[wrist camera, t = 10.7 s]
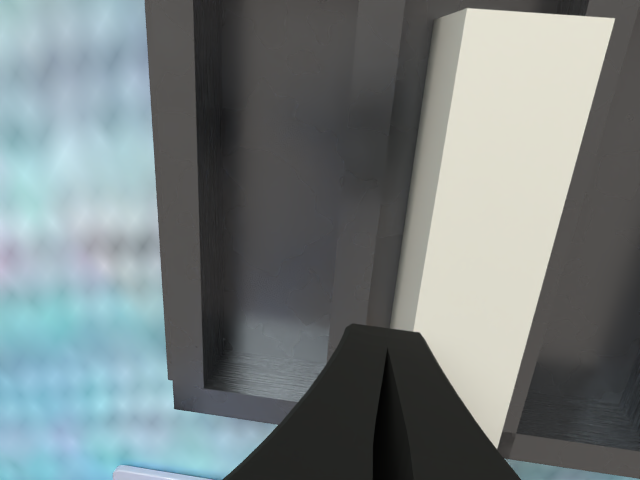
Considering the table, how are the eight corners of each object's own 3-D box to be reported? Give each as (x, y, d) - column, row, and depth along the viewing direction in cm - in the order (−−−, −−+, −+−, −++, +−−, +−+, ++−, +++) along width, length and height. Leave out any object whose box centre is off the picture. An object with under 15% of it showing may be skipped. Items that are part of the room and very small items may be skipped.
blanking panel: (450, 356, 20) (480, 512, 13) (386, 347, 20) (385, 496, 13) (518, 25, 15) (615, 18, 9) (434, 19, 15) (467, 8, 9)
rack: (657, 433, 21) (711, 513, 17) (177, 366, 23) (138, 425, 19) (890, -103, 14) (1064, -151, 10) (150, -136, 15) (81, -186, 12)
